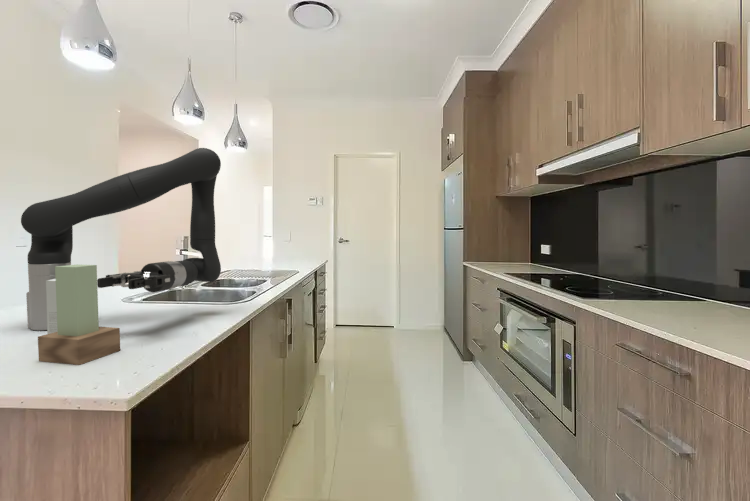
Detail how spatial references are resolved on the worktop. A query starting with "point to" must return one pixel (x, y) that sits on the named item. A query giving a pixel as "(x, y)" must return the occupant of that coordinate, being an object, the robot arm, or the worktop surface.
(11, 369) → the worktop surface
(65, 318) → the sage block
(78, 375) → the worktop surface
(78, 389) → the worktop surface
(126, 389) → the worktop surface
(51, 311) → the skincare box
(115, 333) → the walnut riser block
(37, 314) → the robot arm
